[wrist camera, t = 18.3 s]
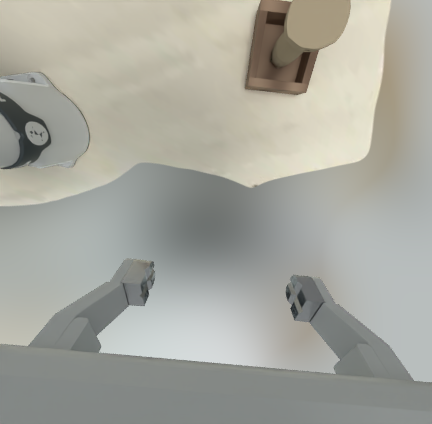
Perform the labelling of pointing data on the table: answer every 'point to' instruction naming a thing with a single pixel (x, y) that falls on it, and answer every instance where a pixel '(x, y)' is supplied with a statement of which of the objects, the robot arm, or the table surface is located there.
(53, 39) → the table surface
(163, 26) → the table surface
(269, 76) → the brown square open box
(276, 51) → the handle
